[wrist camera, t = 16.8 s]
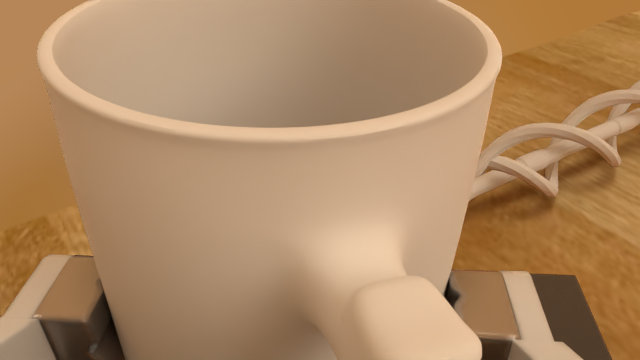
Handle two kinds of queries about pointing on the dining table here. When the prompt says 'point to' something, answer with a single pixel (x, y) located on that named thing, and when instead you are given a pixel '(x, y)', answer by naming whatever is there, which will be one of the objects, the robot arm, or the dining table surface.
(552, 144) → the sculpture
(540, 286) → the hob
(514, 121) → the dining table surface
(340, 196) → the mug
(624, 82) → the dining table surface
